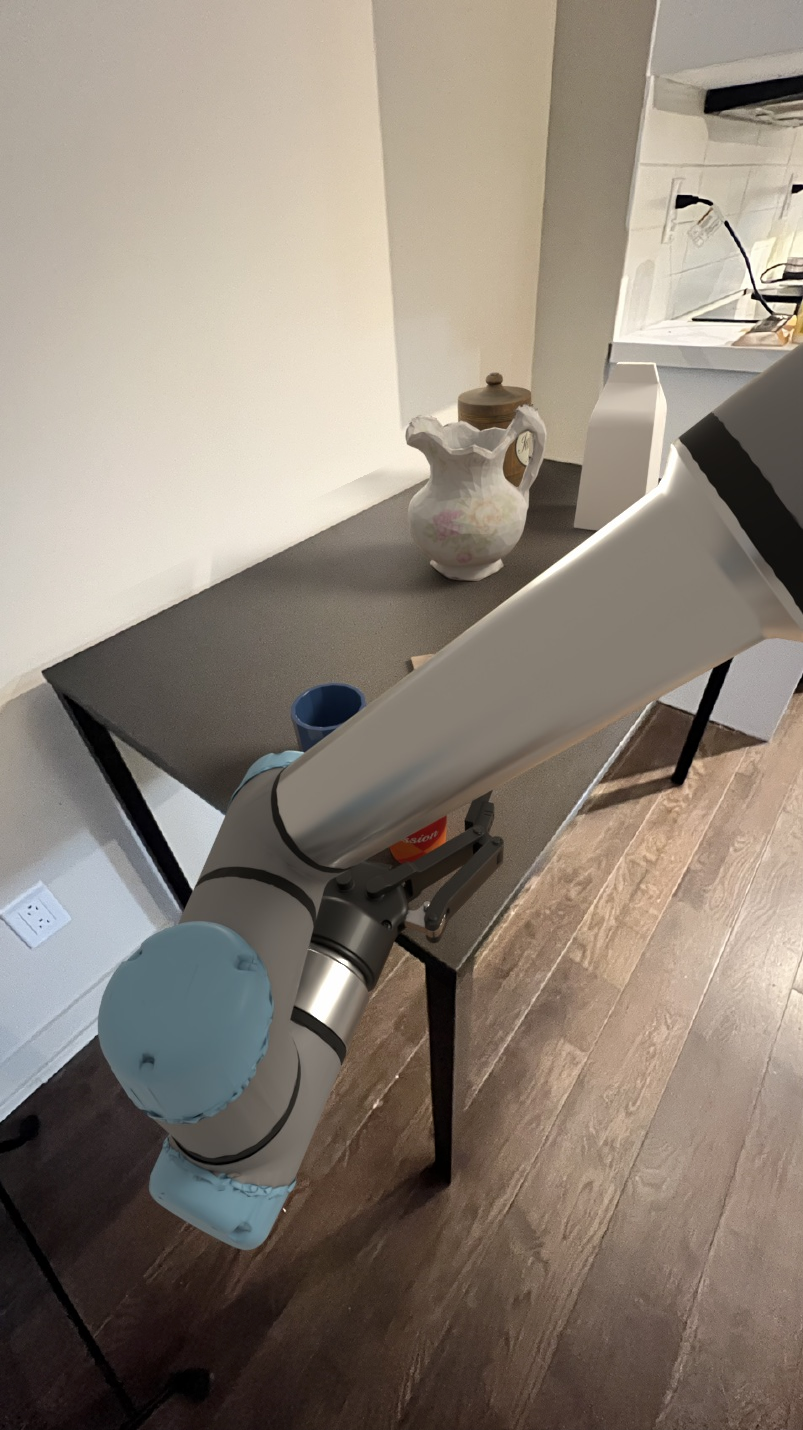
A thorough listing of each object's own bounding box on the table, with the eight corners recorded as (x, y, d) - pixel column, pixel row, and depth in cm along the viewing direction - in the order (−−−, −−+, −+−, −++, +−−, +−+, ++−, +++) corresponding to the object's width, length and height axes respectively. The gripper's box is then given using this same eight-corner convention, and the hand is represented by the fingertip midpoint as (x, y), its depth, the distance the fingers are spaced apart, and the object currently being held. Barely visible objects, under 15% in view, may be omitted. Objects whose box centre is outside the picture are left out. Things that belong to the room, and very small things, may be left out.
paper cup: (364, 856, 61) (343, 752, 53) (406, 805, 66) (394, 702, 57) (431, 890, 58) (422, 785, 49) (471, 833, 62) (469, 728, 54)
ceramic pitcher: (510, 537, 117) (509, 390, 103) (561, 574, 101) (567, 406, 87) (401, 562, 113) (383, 412, 99) (435, 603, 98) (420, 433, 83)
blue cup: (378, 785, 69) (369, 723, 63) (306, 796, 68) (290, 735, 63) (371, 738, 75) (362, 677, 69) (305, 748, 75) (290, 688, 69)
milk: (573, 527, 116) (588, 370, 99) (591, 504, 123) (607, 355, 107) (640, 535, 110) (667, 372, 94) (654, 511, 118) (682, 355, 101)
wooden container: (537, 492, 130) (543, 375, 116) (468, 503, 129) (466, 385, 115) (514, 470, 142) (517, 361, 128) (451, 479, 140) (447, 370, 126)
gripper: (202, 949, 51) (321, 769, 66) (488, 1051, 43) (549, 820, 58) (173, 895, 46) (308, 714, 61) (488, 999, 38) (555, 762, 53)
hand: (426, 765), depth 60 cm, fingers open, 12 cm apart
